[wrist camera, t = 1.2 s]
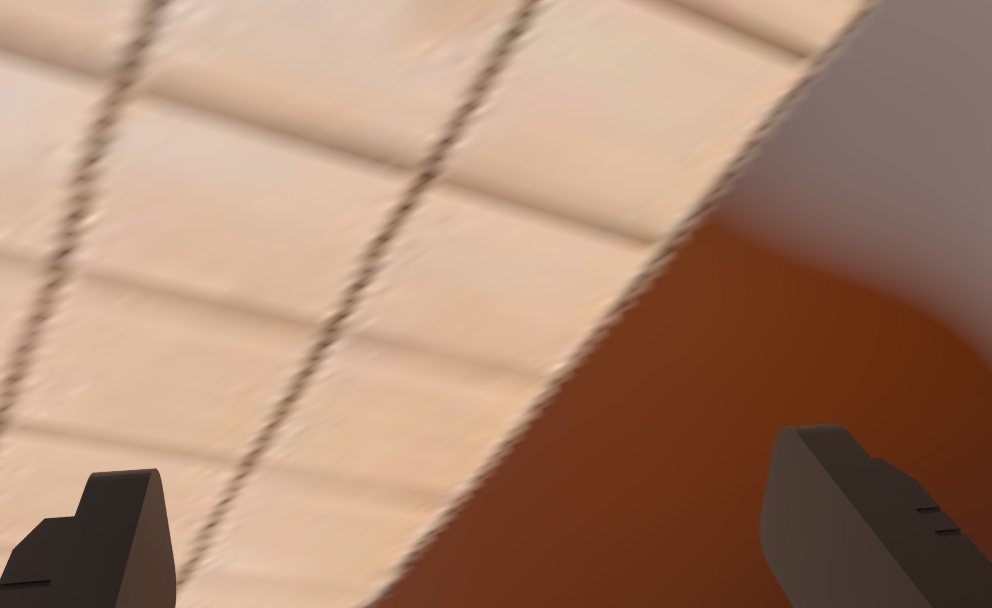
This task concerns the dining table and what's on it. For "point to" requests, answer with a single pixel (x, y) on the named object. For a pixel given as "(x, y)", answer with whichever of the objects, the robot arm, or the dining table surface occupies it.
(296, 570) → the dining table surface
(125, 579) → the robot arm
